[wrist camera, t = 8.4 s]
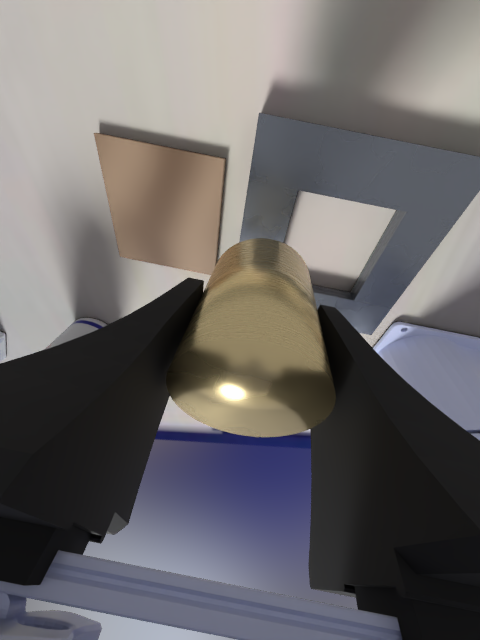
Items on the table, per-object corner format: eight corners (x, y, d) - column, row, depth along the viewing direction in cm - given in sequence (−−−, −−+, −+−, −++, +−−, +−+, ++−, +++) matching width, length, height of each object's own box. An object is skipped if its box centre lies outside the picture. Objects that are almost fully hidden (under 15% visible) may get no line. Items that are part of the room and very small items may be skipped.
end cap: (326, 250, 9) (372, 364, 5) (292, 329, 12) (301, 447, 8) (217, 228, 9) (159, 322, 5) (209, 313, 12) (170, 420, 8)
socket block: (485, 159, 12) (501, 161, 11) (367, 326, 21) (371, 335, 20) (260, 114, 12) (259, 112, 12) (231, 298, 21) (229, 306, 20)
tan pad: (225, 158, 14) (224, 159, 14) (215, 272, 19) (214, 275, 19) (99, 133, 14) (93, 133, 14) (123, 254, 19) (119, 256, 19)
